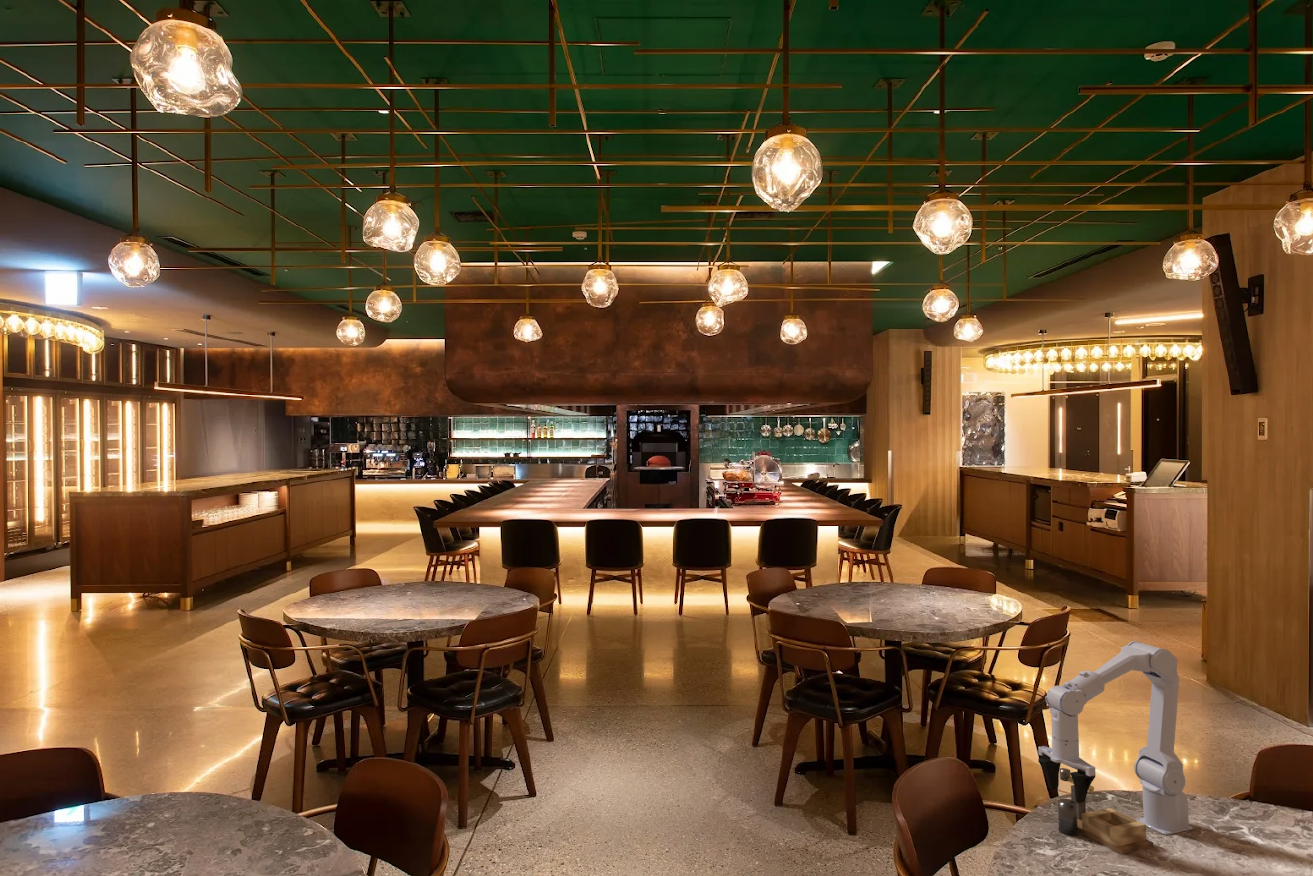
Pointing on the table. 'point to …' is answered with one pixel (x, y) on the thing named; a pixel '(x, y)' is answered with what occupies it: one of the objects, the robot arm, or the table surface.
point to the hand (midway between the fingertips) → (1066, 795)
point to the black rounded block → (1067, 817)
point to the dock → (1111, 828)
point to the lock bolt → (1067, 777)
